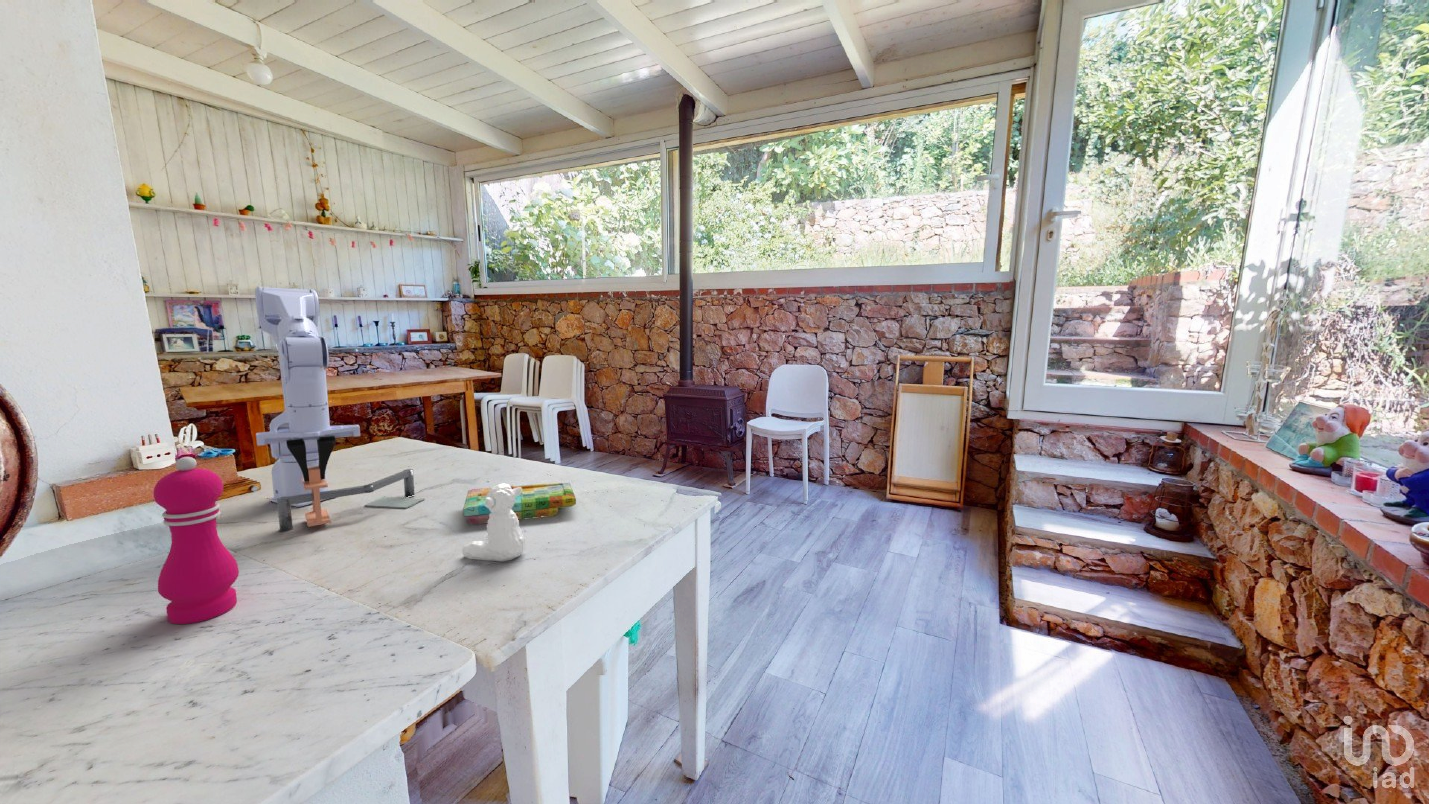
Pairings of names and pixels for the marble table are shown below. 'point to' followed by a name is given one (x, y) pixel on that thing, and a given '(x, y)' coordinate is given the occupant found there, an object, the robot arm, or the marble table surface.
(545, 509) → the puzzle game
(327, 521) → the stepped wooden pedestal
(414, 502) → the pad
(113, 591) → the marble table surface
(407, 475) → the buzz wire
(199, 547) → the pepper mill
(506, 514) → the sitting furry creature
